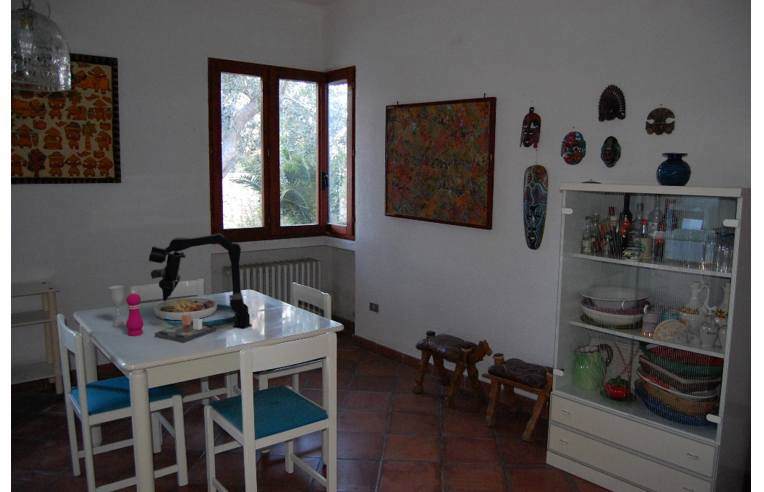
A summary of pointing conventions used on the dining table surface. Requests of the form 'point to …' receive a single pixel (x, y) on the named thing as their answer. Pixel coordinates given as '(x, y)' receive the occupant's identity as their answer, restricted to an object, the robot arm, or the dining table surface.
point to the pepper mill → (134, 315)
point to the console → (184, 332)
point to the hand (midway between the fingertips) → (166, 298)
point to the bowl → (186, 308)
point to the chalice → (117, 301)
